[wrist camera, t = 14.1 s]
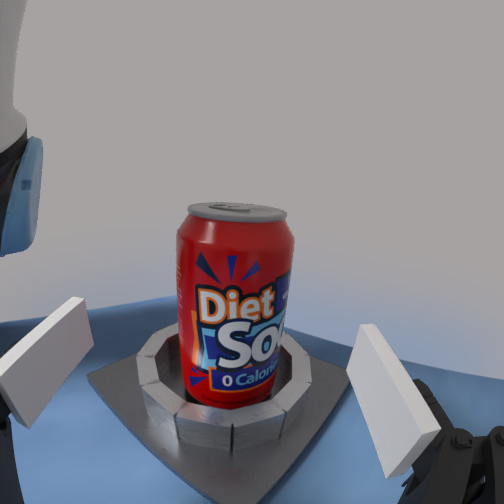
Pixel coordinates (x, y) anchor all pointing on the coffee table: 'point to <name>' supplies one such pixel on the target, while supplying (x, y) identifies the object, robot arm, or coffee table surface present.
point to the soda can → (232, 300)
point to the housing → (221, 418)
